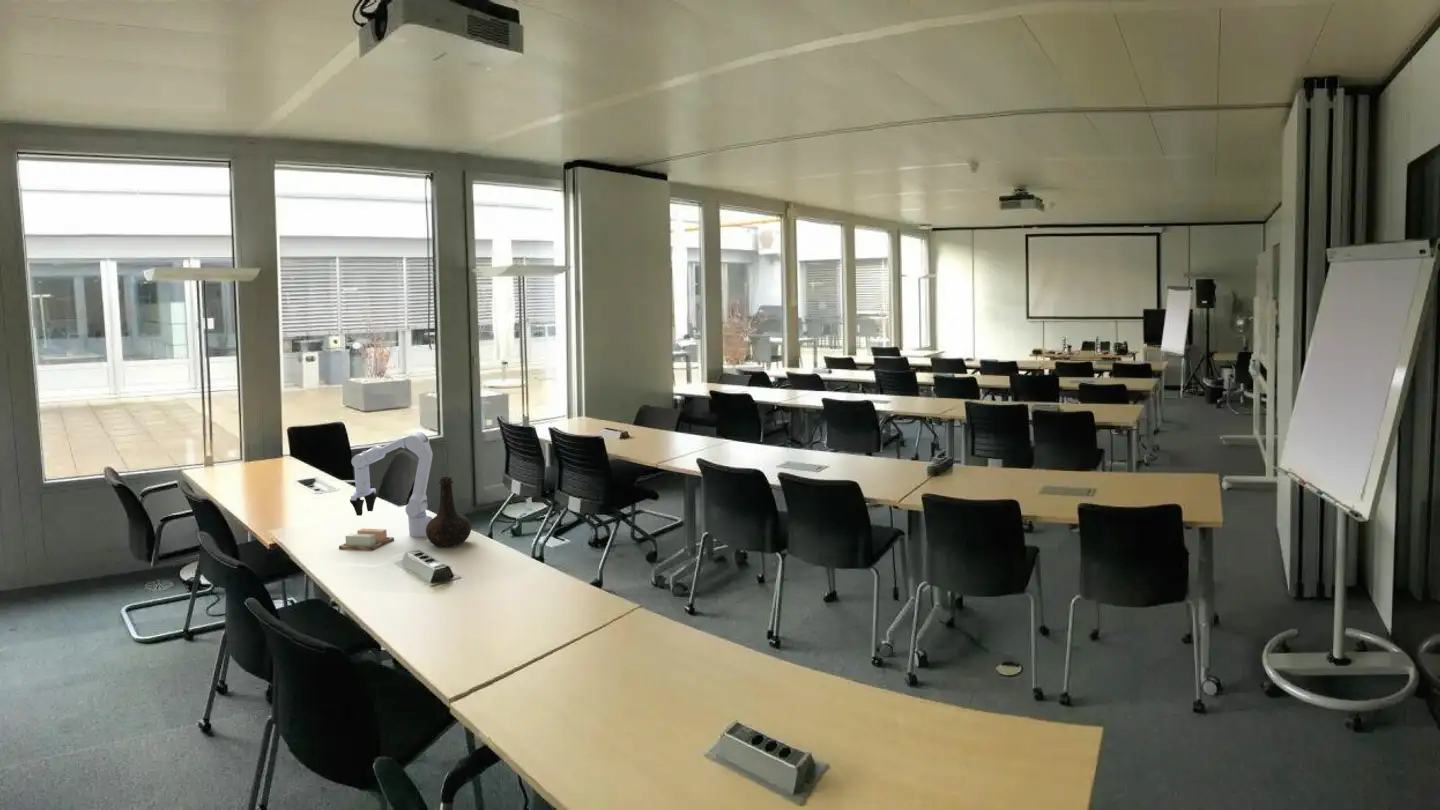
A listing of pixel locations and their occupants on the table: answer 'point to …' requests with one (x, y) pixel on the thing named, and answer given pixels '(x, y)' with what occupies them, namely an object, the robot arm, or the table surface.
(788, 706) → the table surface
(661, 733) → the table surface
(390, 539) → the rack
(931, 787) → the table surface
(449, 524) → the glass bottle
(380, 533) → the peach rectangular block
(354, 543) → the grey-green block
